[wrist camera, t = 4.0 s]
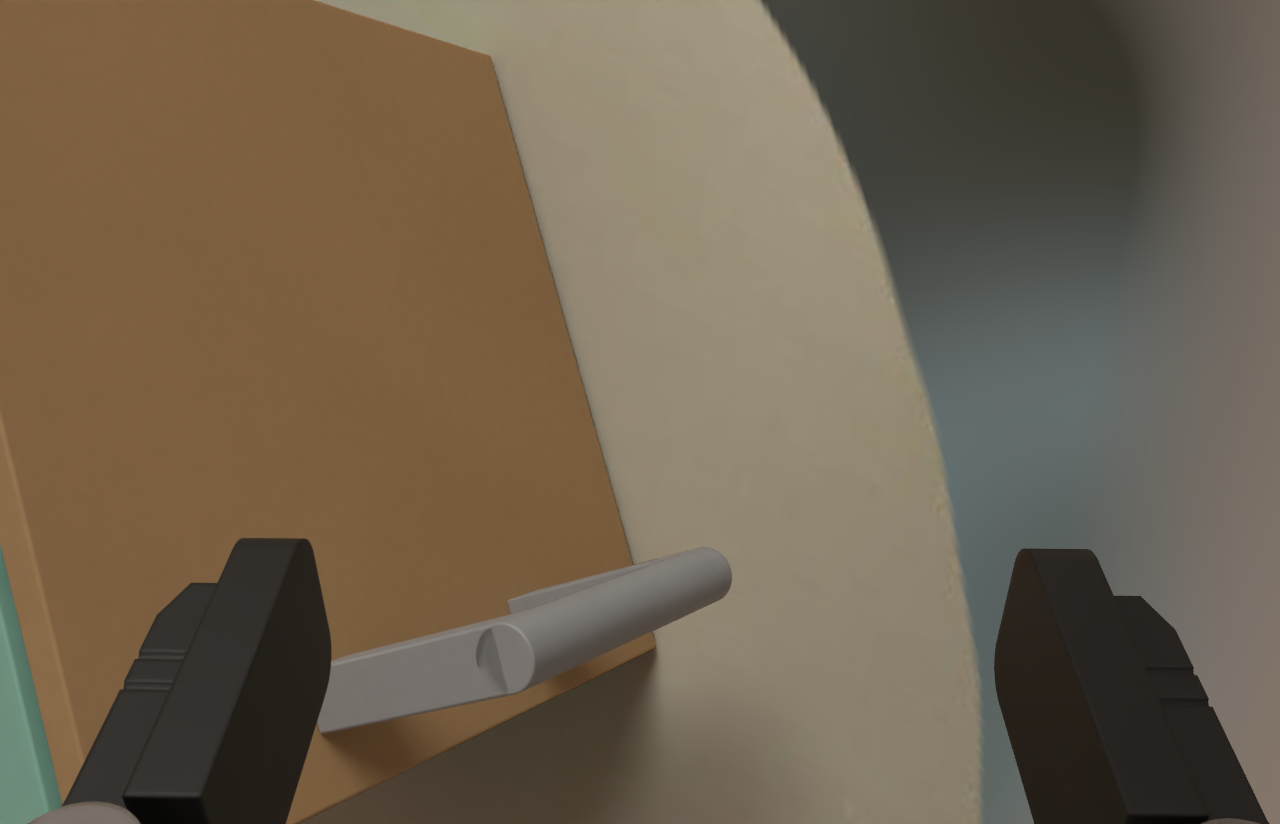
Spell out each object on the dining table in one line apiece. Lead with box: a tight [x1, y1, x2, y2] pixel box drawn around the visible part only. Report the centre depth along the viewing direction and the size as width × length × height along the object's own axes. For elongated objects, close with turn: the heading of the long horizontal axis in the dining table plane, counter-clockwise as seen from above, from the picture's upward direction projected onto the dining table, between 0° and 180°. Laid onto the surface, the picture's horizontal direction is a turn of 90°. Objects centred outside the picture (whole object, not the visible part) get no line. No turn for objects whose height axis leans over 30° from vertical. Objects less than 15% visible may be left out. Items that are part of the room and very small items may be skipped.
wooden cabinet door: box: [0, 0, 732, 824], centre depth 33 cm, size 8×22×22 cm, turn 18°
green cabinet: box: [0, 545, 62, 824], centre depth 38 cm, size 14×22×22 cm, turn 18°
